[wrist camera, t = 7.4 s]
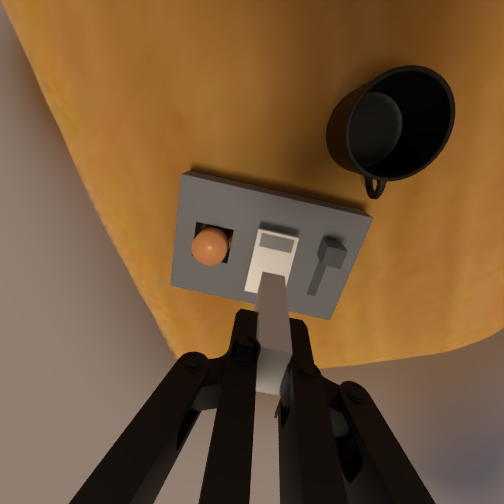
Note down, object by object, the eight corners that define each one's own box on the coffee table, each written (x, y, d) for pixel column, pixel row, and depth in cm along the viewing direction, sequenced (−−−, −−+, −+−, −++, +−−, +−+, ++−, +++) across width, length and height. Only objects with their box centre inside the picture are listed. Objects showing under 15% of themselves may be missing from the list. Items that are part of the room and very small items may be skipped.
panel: (190, 170, 34) (178, 174, 30) (362, 210, 35) (376, 220, 30) (179, 272, 41) (167, 289, 36) (324, 304, 41) (331, 325, 37)
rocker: (258, 227, 32) (258, 229, 30) (297, 236, 32) (299, 238, 30) (244, 286, 34) (244, 290, 32) (281, 294, 34) (282, 299, 32)
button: (204, 216, 36) (193, 229, 31) (234, 223, 36) (228, 237, 31) (200, 244, 38) (189, 261, 33) (229, 251, 38) (222, 268, 33)
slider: (322, 237, 32) (327, 246, 30) (341, 241, 32) (347, 251, 30) (316, 254, 33) (321, 264, 31) (334, 258, 33) (340, 269, 31)
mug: (323, 193, 34) (340, 210, 26) (326, 90, 30) (349, 70, 21) (396, 189, 34) (437, 204, 25) (411, 82, 29) (468, 58, 21)
